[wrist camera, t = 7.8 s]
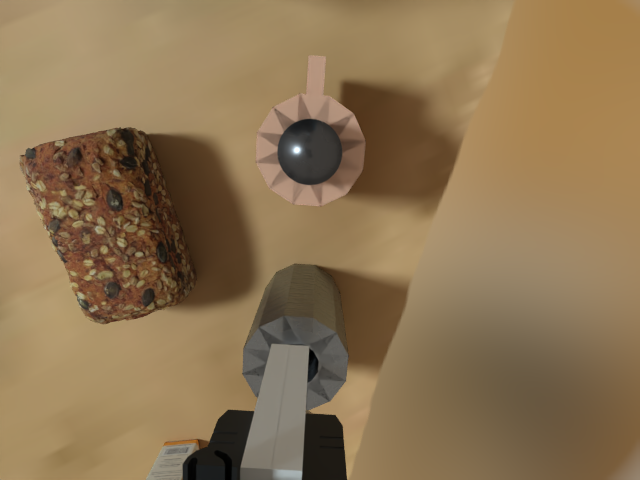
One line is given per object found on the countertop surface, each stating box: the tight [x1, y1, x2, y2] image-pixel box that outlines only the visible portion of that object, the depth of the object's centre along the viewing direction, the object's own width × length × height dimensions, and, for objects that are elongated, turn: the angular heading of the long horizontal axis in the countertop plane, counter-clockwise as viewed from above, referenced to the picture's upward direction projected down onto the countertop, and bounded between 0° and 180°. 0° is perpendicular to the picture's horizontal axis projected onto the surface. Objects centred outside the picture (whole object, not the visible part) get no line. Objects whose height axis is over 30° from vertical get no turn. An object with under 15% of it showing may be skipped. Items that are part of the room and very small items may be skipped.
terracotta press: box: [256, 55, 366, 206], centre depth 40 cm, size 9×12×12 cm
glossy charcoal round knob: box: [277, 119, 342, 185], centre depth 37 cm, size 5×5×12 cm
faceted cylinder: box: [242, 264, 349, 410], centre depth 43 cm, size 9×12×15 cm
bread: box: [20, 127, 197, 324], centre depth 43 cm, size 19×11×10 cm, turn 13°
